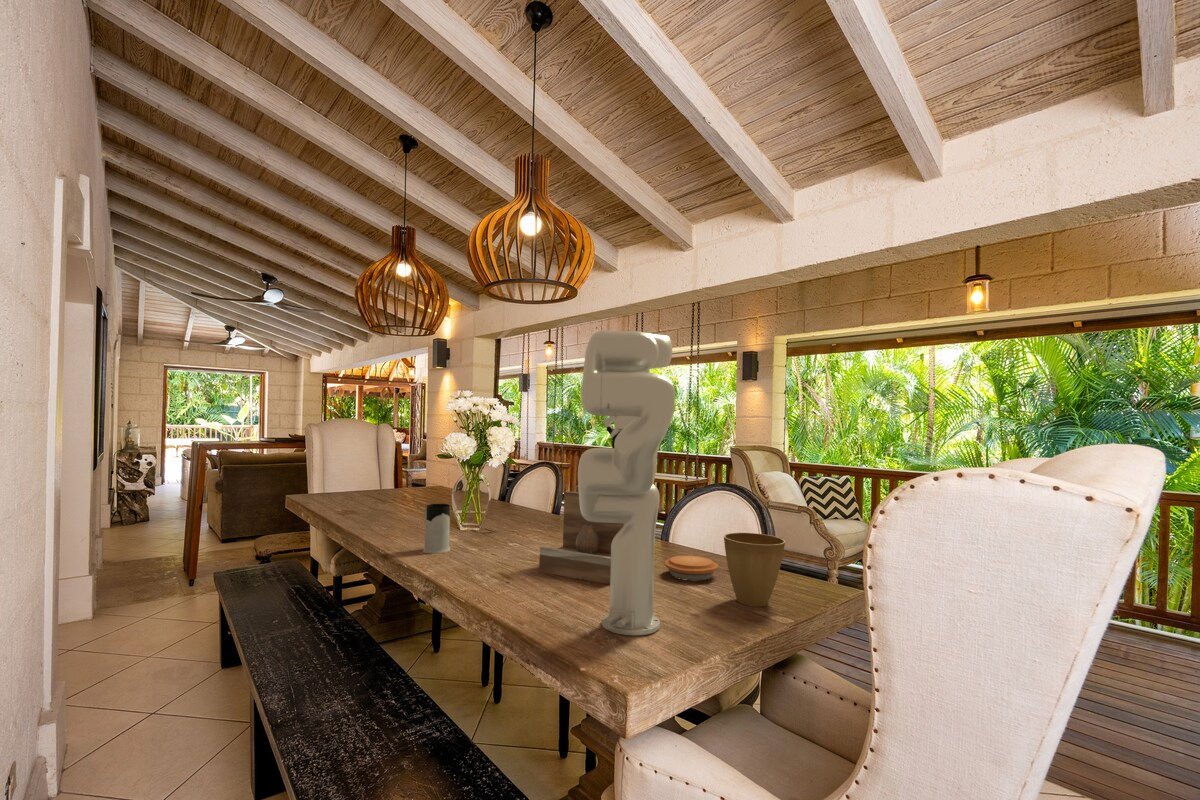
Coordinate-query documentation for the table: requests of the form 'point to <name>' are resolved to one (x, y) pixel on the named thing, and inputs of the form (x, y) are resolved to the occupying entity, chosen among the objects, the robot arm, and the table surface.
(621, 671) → the table surface
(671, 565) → the pie
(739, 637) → the table surface
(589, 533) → the vase
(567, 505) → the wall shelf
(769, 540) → the plant pot
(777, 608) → the table surface
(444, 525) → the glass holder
